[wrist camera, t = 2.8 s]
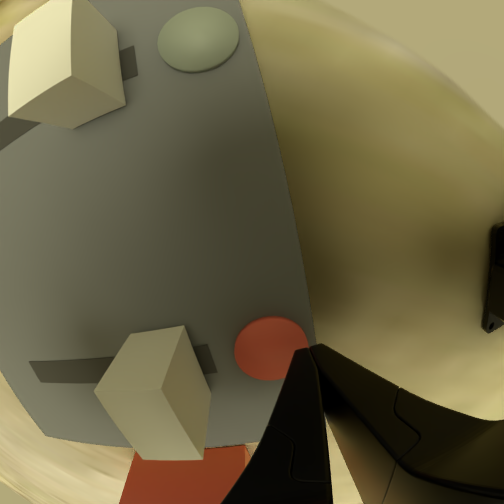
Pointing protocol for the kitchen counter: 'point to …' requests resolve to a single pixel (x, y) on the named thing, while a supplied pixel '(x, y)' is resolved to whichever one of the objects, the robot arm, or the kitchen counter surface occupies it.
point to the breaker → (64, 65)
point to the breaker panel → (153, 229)
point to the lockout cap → (185, 478)
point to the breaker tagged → (158, 395)
